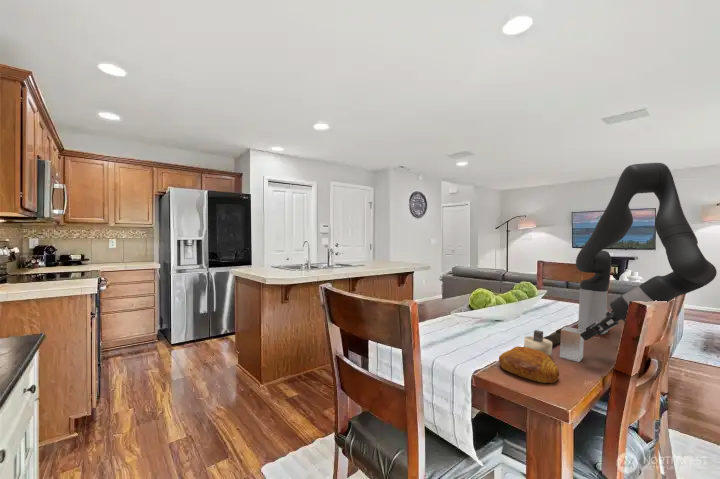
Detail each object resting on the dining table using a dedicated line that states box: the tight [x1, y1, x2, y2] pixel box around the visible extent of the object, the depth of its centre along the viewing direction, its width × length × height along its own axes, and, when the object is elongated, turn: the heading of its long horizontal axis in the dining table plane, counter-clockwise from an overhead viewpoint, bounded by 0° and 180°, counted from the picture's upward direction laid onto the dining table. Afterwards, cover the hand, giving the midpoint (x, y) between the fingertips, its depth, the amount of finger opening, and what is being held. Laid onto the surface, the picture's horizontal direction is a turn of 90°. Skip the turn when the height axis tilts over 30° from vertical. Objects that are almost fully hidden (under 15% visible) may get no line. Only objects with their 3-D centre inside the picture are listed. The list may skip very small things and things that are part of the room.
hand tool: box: [544, 328, 562, 347], centre depth 118 cm, size 19×4×5 cm, turn 125°
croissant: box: [498, 345, 560, 384], centre depth 94 cm, size 14×16×8 cm
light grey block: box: [559, 326, 585, 363], centre depth 106 cm, size 5×5×9 cm
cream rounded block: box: [523, 329, 553, 359], centre depth 107 cm, size 8×8×8 cm
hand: (585, 334), depth 103 cm, fingers open, 8 cm apart
